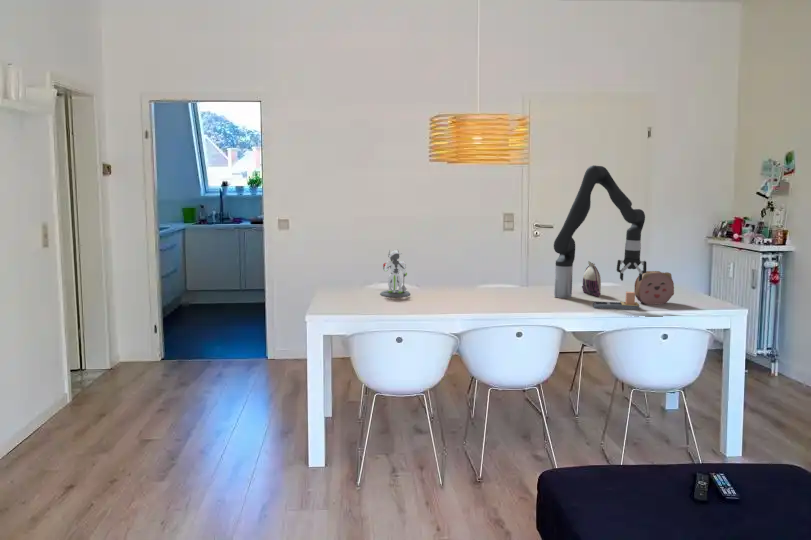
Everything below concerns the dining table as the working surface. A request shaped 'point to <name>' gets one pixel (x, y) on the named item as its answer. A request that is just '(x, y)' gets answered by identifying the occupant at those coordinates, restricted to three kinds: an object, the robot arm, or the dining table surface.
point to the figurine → (395, 276)
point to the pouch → (592, 280)
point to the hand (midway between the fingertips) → (630, 280)
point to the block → (630, 298)
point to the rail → (615, 305)
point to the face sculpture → (654, 287)
